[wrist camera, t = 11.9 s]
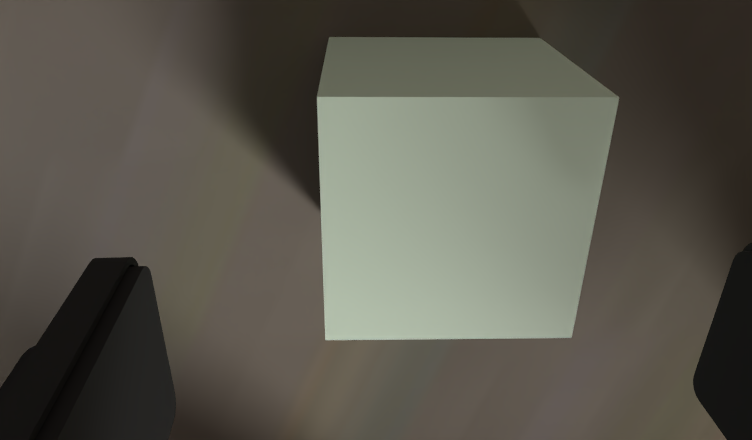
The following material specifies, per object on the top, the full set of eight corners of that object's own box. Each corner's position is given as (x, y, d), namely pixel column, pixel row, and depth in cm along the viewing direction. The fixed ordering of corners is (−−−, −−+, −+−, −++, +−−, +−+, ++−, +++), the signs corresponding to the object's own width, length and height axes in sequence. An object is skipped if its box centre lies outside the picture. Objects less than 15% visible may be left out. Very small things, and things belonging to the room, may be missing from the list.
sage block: (539, 37, 17) (619, 97, 12) (515, 222, 20) (571, 337, 15) (329, 36, 17) (316, 97, 12) (333, 223, 20) (325, 340, 15)
